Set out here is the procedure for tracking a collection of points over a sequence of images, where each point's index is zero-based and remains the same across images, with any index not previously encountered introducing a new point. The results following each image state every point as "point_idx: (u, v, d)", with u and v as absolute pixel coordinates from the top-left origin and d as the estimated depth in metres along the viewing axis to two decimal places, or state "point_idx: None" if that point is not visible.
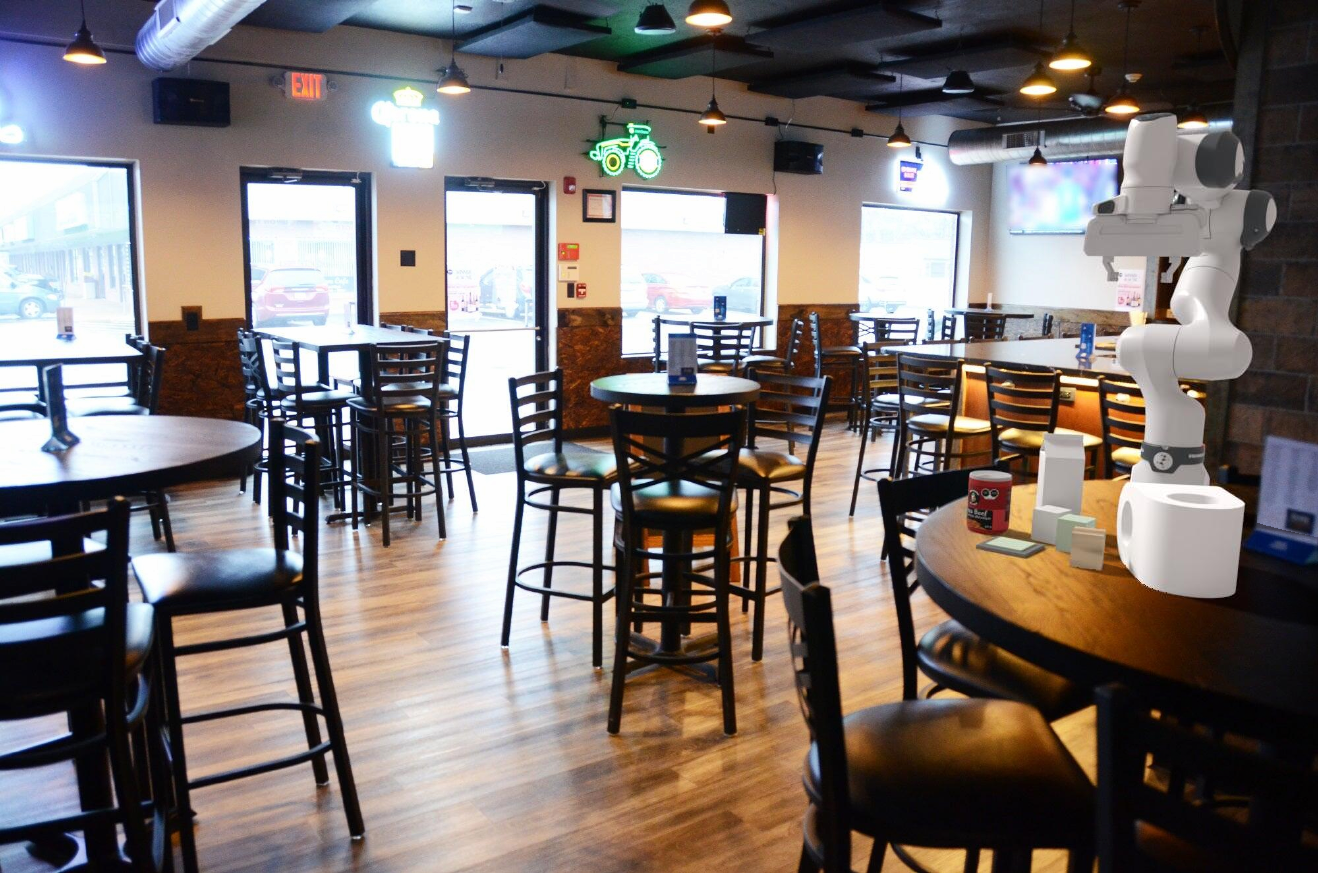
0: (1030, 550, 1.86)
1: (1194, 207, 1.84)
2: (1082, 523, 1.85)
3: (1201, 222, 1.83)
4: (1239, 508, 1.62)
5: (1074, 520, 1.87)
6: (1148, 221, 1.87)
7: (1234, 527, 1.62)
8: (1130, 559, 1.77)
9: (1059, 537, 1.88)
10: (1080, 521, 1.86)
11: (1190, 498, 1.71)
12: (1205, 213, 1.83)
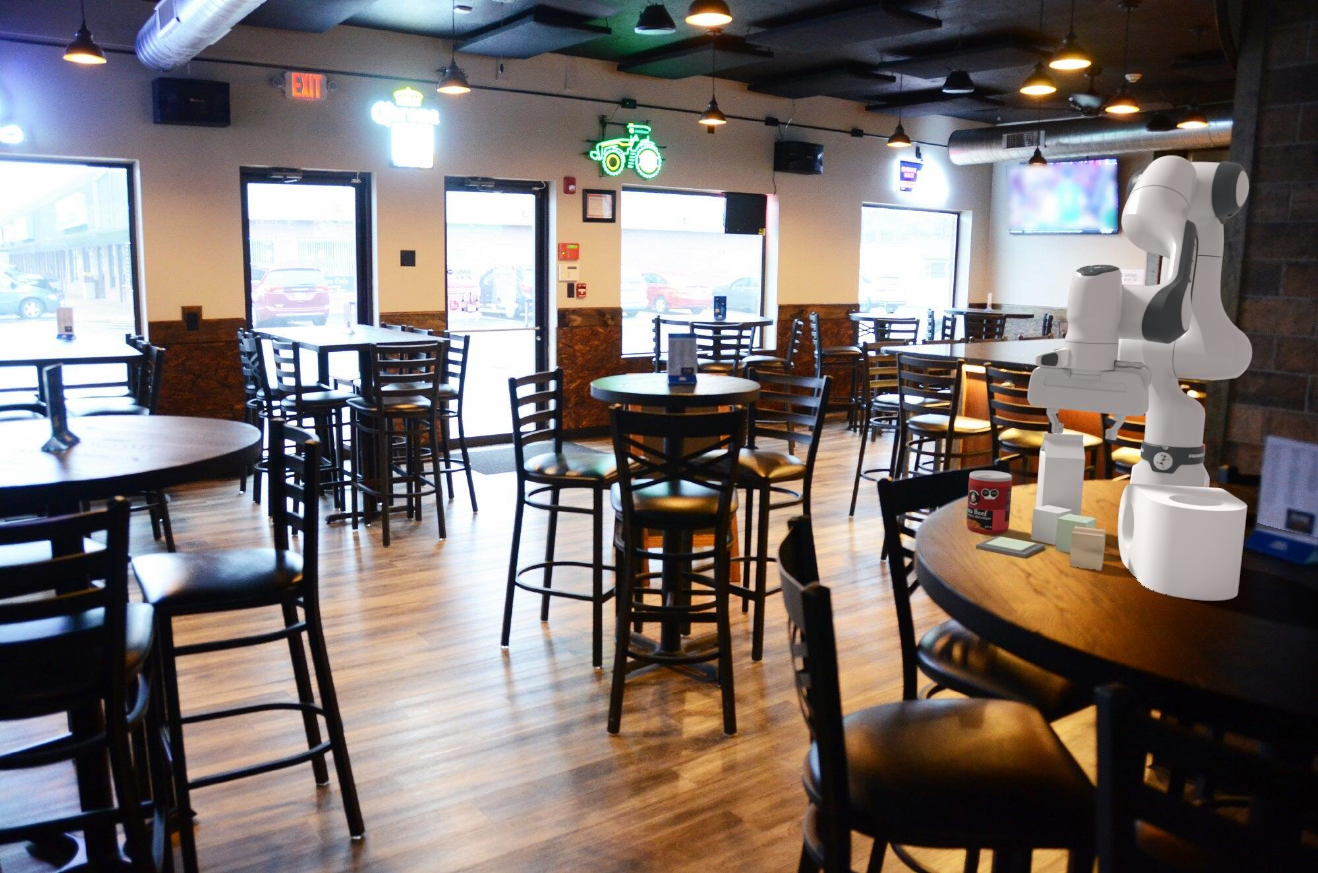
0: (1030, 550, 1.86)
1: (1138, 366, 1.78)
2: (1082, 523, 1.85)
3: (1145, 382, 1.77)
4: (1241, 510, 1.60)
5: (1074, 520, 1.87)
6: (1092, 377, 1.81)
7: (1236, 529, 1.61)
8: (1131, 561, 1.75)
9: (1059, 537, 1.88)
10: (1080, 521, 1.86)
11: (1192, 499, 1.70)
12: (1149, 373, 1.77)
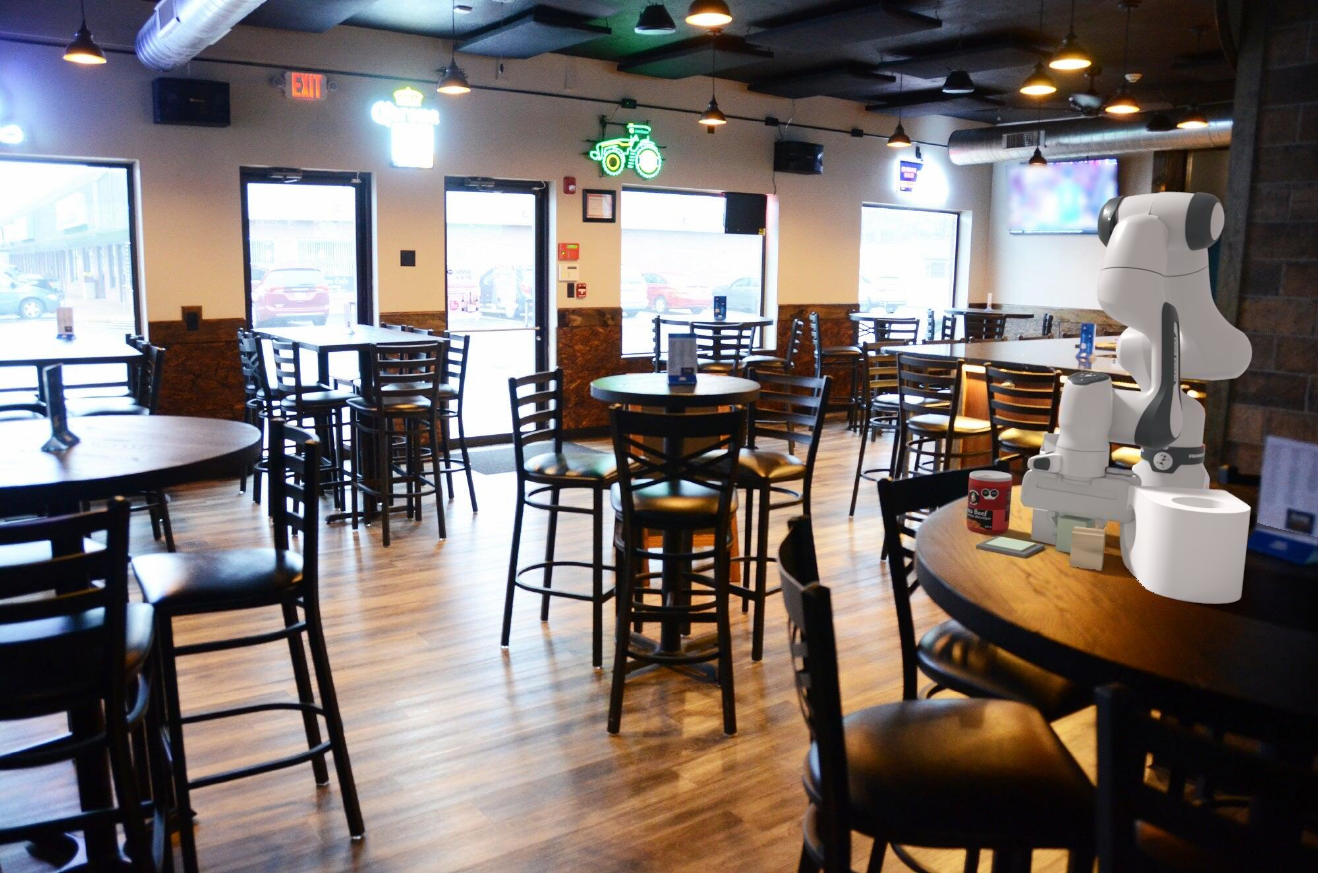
0: (1030, 550, 1.86)
1: (1129, 474, 1.81)
2: (1082, 523, 1.85)
3: None
4: (1245, 512, 1.59)
5: (1074, 520, 1.87)
6: (1083, 483, 1.84)
7: (1240, 532, 1.59)
8: (1134, 564, 1.74)
9: (1060, 536, 1.88)
10: (1080, 521, 1.86)
11: (1195, 501, 1.68)
12: (1139, 481, 1.80)
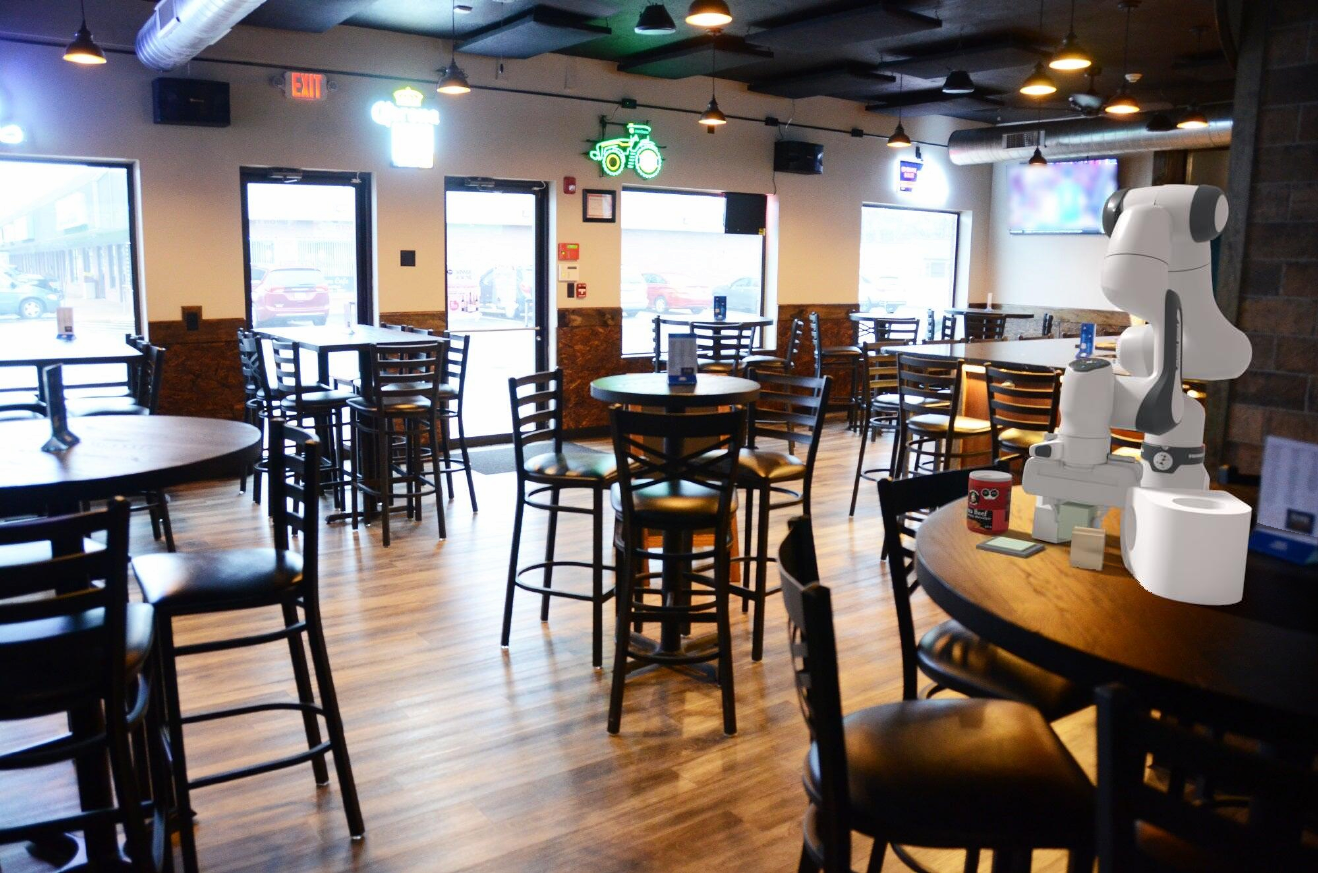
0: (1030, 550, 1.86)
1: (1130, 460, 1.81)
2: (1084, 510, 1.85)
3: (1137, 476, 1.80)
4: (1246, 513, 1.58)
5: (1076, 507, 1.87)
6: (1085, 470, 1.84)
7: (1241, 533, 1.58)
8: (1134, 565, 1.73)
9: (1062, 523, 1.88)
10: (1082, 508, 1.86)
11: (1196, 502, 1.68)
12: (1141, 467, 1.80)
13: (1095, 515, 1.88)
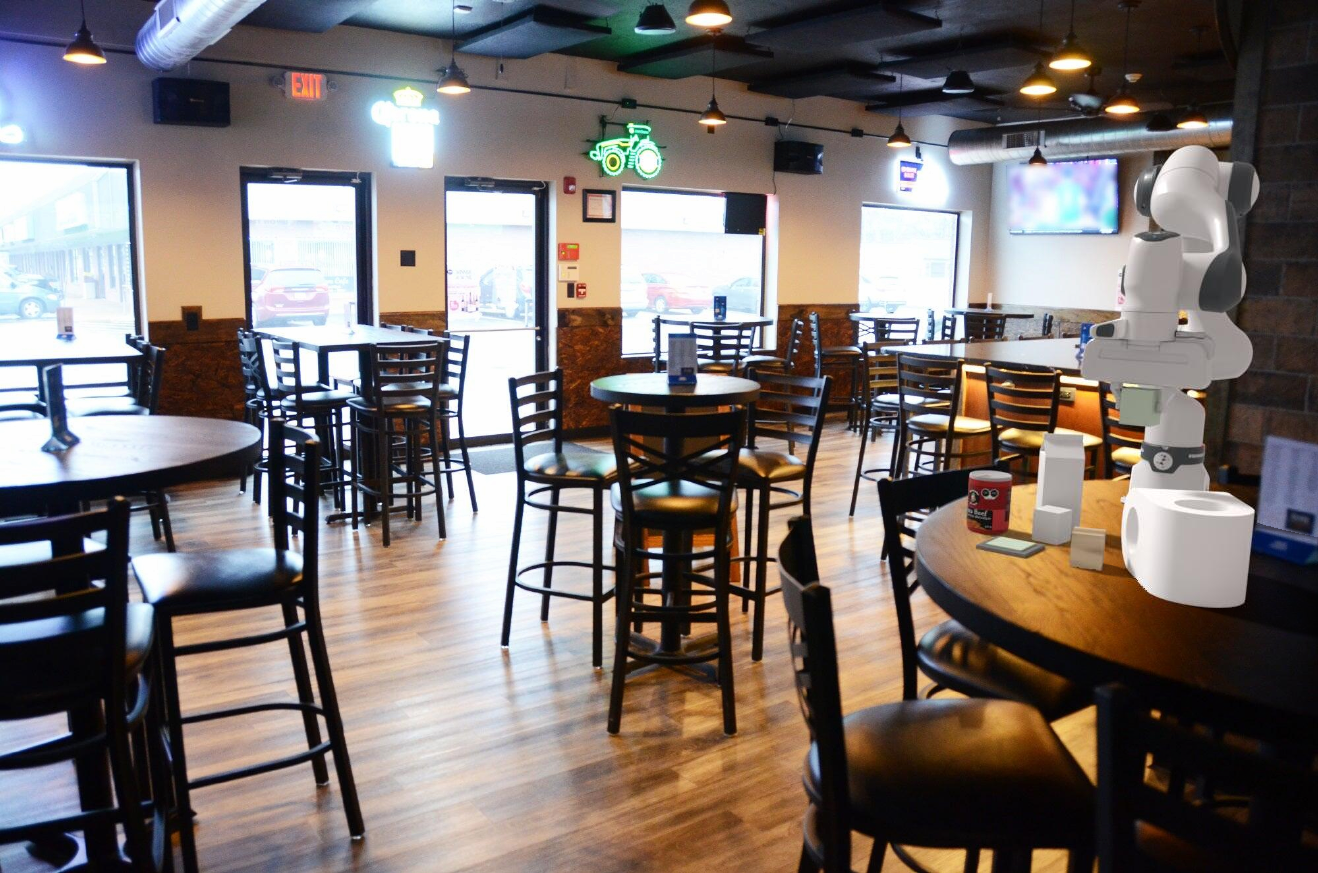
0: (1030, 550, 1.86)
1: (1201, 336, 1.69)
2: (1149, 391, 1.73)
3: (1208, 352, 1.68)
4: (1249, 515, 1.57)
5: (1140, 389, 1.75)
6: (1150, 348, 1.72)
7: (1244, 535, 1.57)
8: (1136, 567, 1.72)
9: (1123, 408, 1.76)
10: (1146, 390, 1.74)
11: (1198, 504, 1.66)
12: (1213, 343, 1.68)
13: (1159, 400, 1.76)
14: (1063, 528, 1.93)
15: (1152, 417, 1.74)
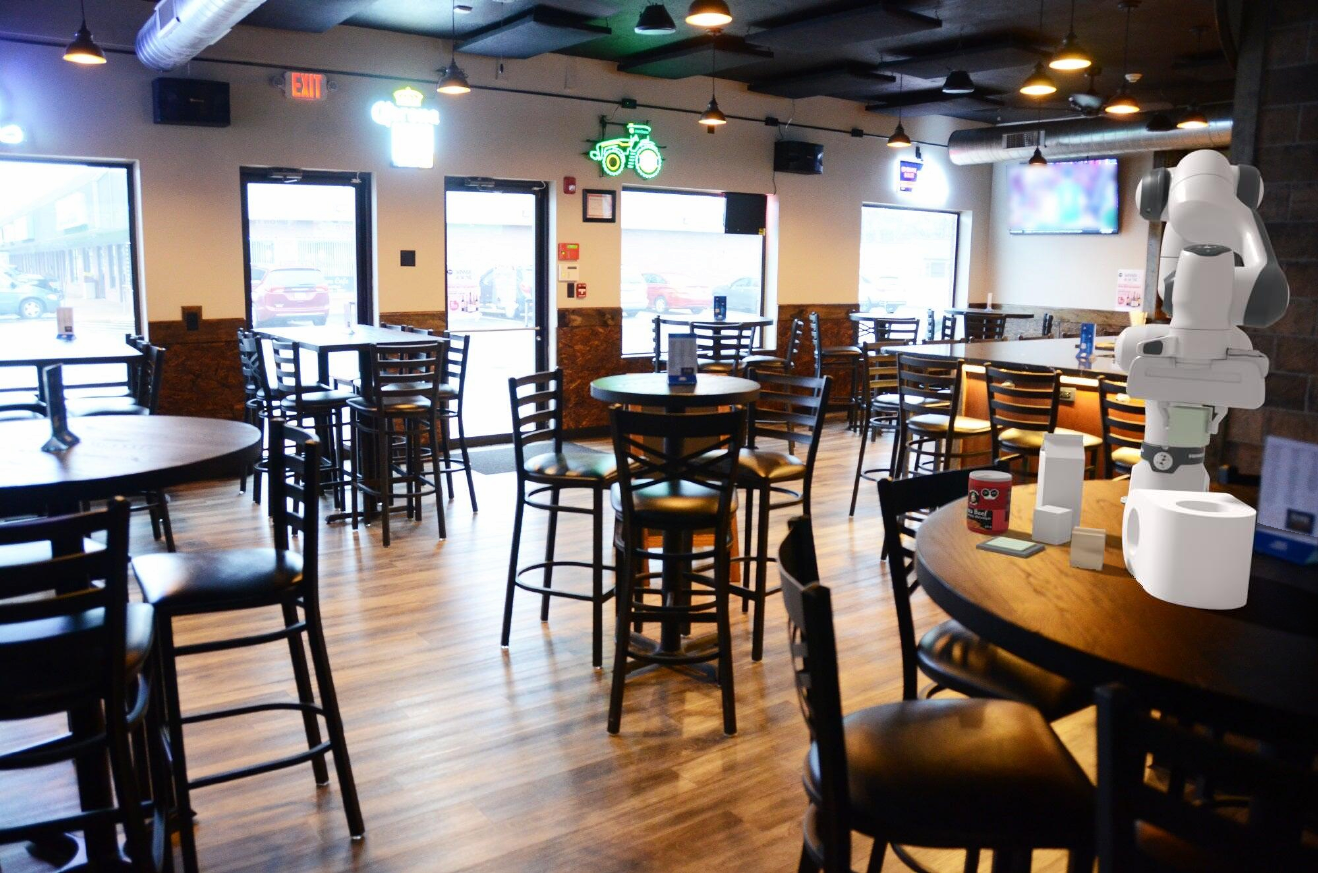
0: (1030, 550, 1.86)
1: (1254, 354, 1.63)
2: (1199, 411, 1.67)
3: (1262, 371, 1.63)
4: (1251, 516, 1.56)
5: (1190, 408, 1.69)
6: (1201, 367, 1.66)
7: (1246, 536, 1.56)
8: (1137, 568, 1.71)
9: (1173, 428, 1.70)
10: (1197, 409, 1.68)
11: (1199, 505, 1.66)
12: (1267, 361, 1.62)
13: (1210, 419, 1.70)
14: (1063, 528, 1.93)
15: (1203, 438, 1.69)
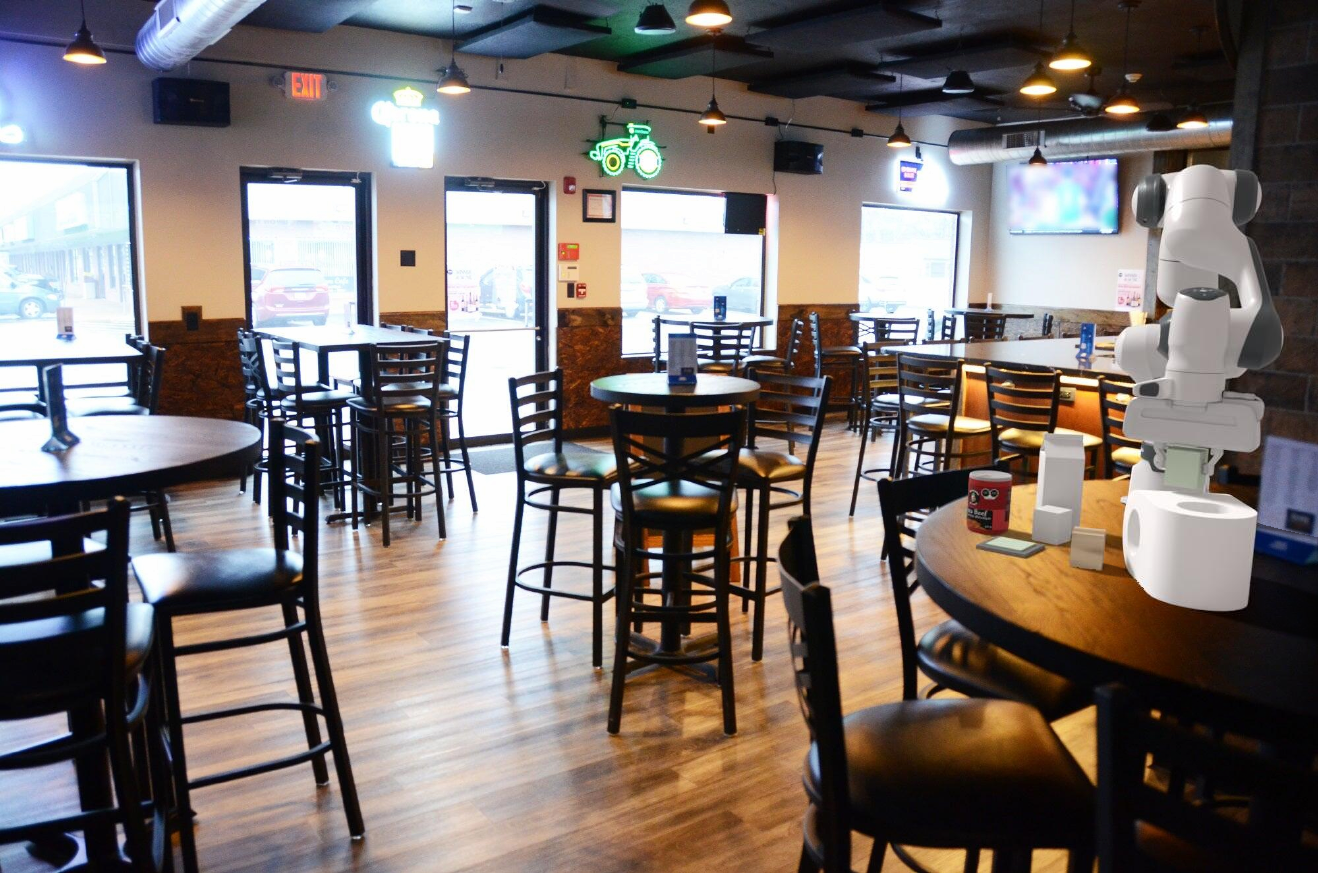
0: (1030, 550, 1.86)
1: (1250, 397, 1.64)
2: (1195, 453, 1.68)
3: (1258, 415, 1.64)
4: (1252, 518, 1.56)
5: (1186, 450, 1.70)
6: (1197, 409, 1.67)
7: (1247, 538, 1.56)
8: (1137, 570, 1.71)
9: (1169, 469, 1.71)
10: (1193, 451, 1.69)
11: (1200, 506, 1.65)
12: (1262, 405, 1.63)
13: (1205, 460, 1.71)
14: (1063, 528, 1.93)
15: (1199, 479, 1.70)
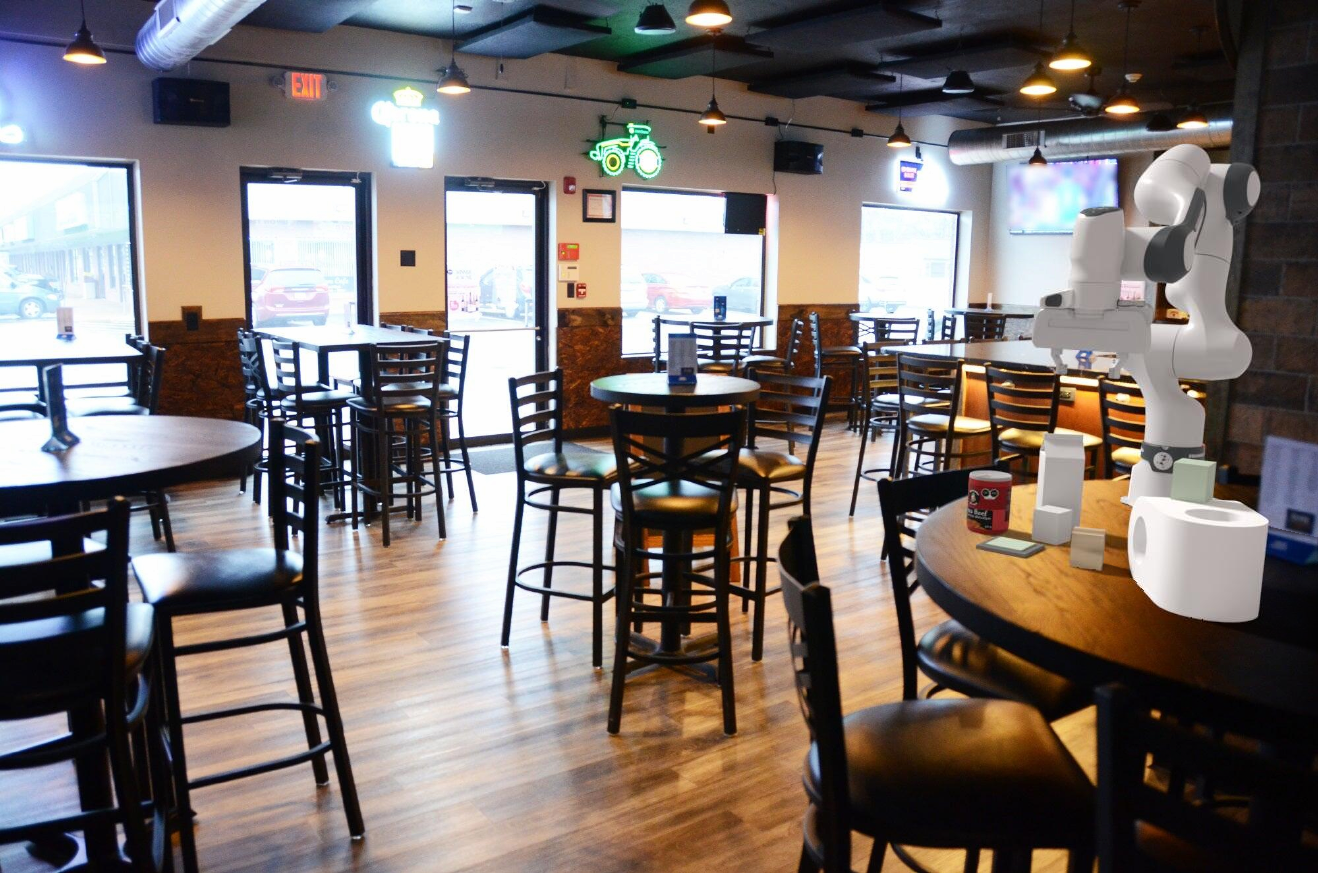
0: (1030, 550, 1.86)
1: (1141, 304, 1.81)
2: (1203, 467, 1.63)
3: (1148, 319, 1.81)
4: (1263, 526, 1.51)
5: (1193, 464, 1.65)
6: (1095, 317, 1.84)
7: (1258, 547, 1.51)
8: (1144, 579, 1.66)
9: (1176, 483, 1.66)
10: (1200, 465, 1.64)
11: (1209, 514, 1.60)
12: (1152, 311, 1.80)
13: (1213, 474, 1.66)
14: (1063, 528, 1.93)
15: (1207, 493, 1.64)
